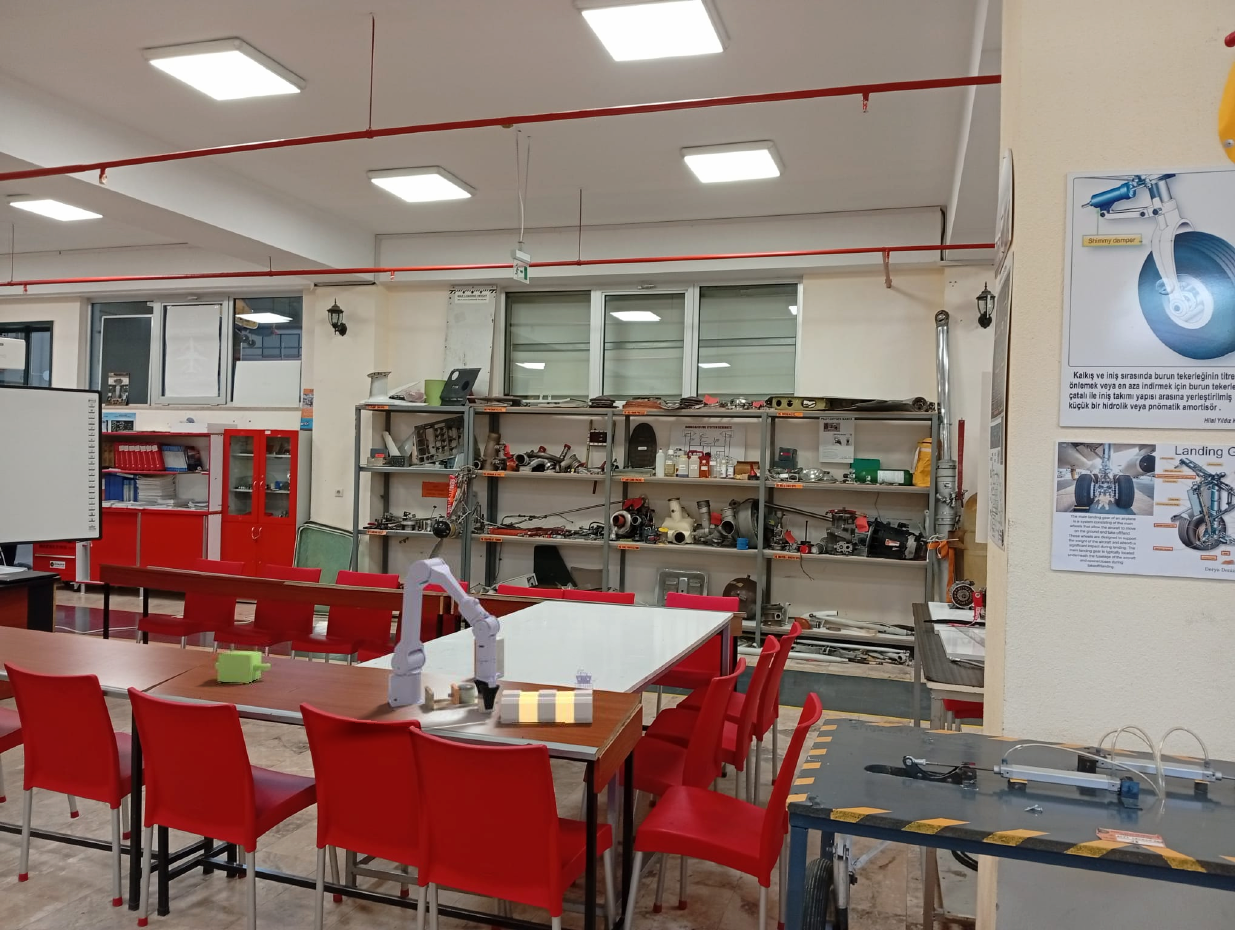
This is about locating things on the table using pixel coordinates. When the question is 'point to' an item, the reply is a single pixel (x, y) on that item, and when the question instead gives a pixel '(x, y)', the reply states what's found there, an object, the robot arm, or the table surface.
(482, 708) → the cream jar
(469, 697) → the green jar
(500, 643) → the small box
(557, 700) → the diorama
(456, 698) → the pusher
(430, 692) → the lane
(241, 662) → the gearbox
